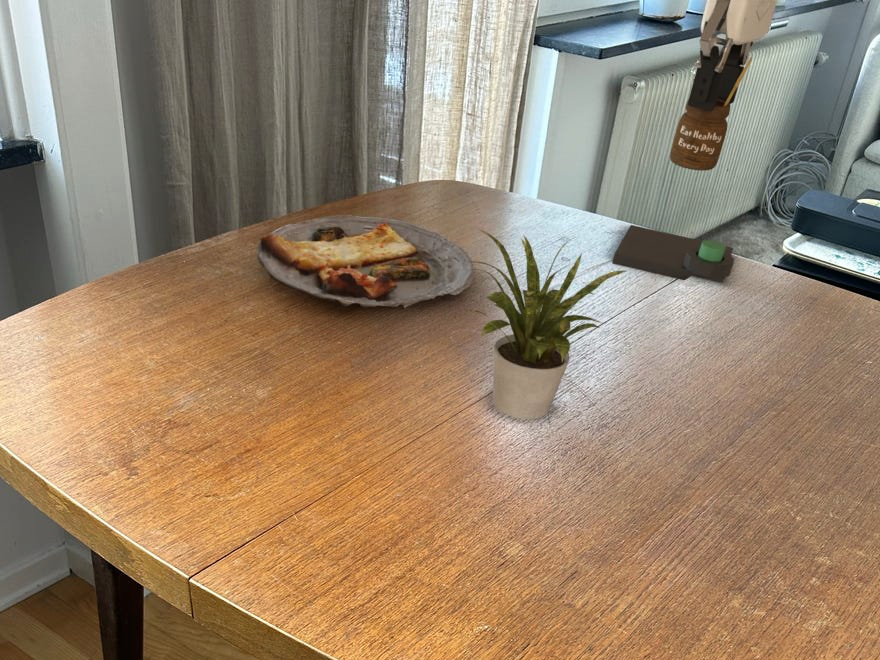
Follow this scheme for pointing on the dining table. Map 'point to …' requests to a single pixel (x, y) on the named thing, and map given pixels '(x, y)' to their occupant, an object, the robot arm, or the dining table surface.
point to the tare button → (712, 251)
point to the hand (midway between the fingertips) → (710, 103)
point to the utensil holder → (702, 133)
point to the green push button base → (669, 255)
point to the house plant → (533, 337)
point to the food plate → (365, 261)
